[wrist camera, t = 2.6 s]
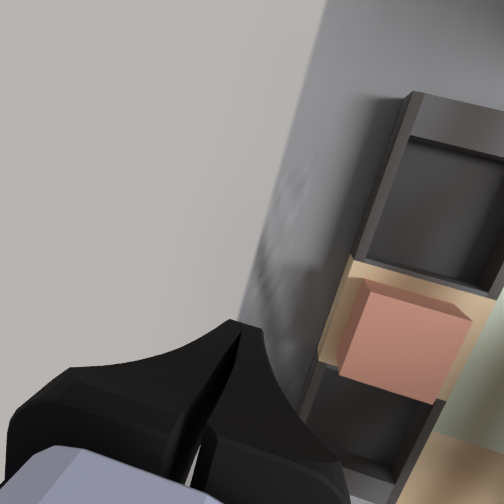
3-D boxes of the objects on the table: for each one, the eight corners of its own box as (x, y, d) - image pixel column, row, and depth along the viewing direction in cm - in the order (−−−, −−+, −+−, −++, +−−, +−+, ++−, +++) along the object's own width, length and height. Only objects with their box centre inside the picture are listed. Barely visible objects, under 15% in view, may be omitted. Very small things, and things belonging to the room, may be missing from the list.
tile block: (453, 303, 16) (472, 321, 14) (419, 379, 17) (432, 404, 16) (363, 277, 17) (370, 291, 15) (335, 353, 18) (339, 374, 16)
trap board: (722, 171, 14) (808, 172, 12) (499, 525, 20) (526, 575, 18) (403, 98, 16) (422, 84, 13) (281, 450, 22) (278, 486, 19)
